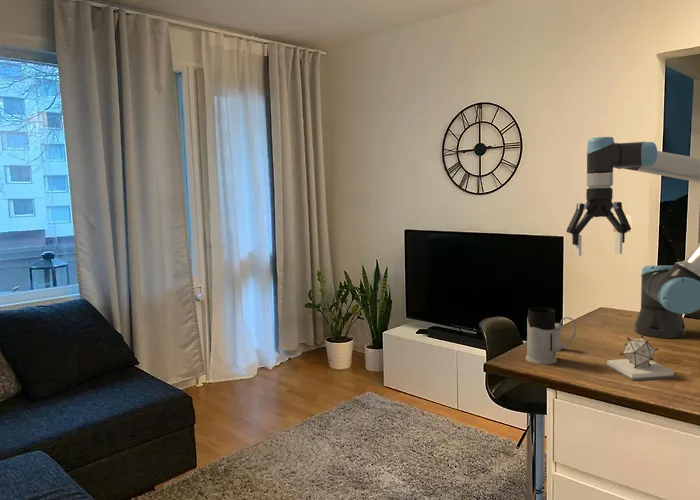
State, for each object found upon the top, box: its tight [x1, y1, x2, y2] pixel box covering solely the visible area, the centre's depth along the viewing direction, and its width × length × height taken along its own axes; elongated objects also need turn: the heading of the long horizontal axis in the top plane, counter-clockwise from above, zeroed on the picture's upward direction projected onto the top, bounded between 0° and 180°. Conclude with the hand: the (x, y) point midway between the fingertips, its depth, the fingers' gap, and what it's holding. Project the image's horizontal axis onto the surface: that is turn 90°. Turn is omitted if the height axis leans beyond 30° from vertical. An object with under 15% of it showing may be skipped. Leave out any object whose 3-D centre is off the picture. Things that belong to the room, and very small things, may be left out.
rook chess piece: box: [555, 322, 564, 352], centre depth 171 cm, size 4×4×8 cm
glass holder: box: [525, 306, 577, 365], centre depth 159 cm, size 9×14×15 cm, turn 51°
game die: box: [619, 334, 659, 369], centre depth 148 cm, size 9×8×10 cm
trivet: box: [605, 358, 676, 381], centre depth 149 cm, size 12×12×2 cm
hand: (598, 254), depth 173 cm, fingers open, 13 cm apart
